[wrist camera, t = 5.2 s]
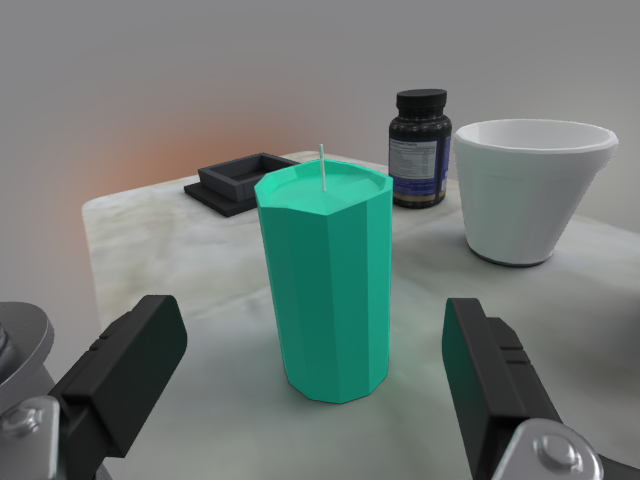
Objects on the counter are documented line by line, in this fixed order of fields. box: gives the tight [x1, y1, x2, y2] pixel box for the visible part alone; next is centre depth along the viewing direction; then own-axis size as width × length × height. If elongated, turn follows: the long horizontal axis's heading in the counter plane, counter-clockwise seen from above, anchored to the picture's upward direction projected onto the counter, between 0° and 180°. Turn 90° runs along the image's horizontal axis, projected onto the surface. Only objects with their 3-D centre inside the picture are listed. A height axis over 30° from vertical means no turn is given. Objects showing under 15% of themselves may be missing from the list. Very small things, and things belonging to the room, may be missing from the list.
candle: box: [254, 145, 393, 404], centre depth 18 cm, size 6×6×12 cm
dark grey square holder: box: [184, 153, 301, 217], centre depth 47 cm, size 14×12×3 cm
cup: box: [453, 119, 619, 266], centre depth 27 cm, size 10×10×9 cm
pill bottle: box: [389, 89, 452, 208], centre depth 37 cm, size 6×6×11 cm
